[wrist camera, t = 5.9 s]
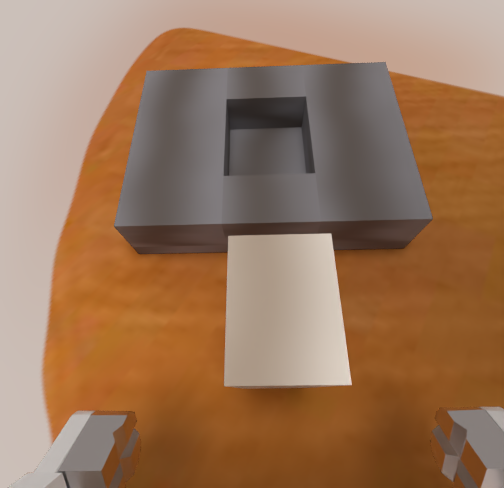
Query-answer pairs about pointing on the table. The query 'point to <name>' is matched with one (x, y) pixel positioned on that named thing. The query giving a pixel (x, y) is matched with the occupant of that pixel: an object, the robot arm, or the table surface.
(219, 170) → the slot holder
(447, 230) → the table surface
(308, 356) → the peg
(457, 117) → the table surface
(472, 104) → the table surface
